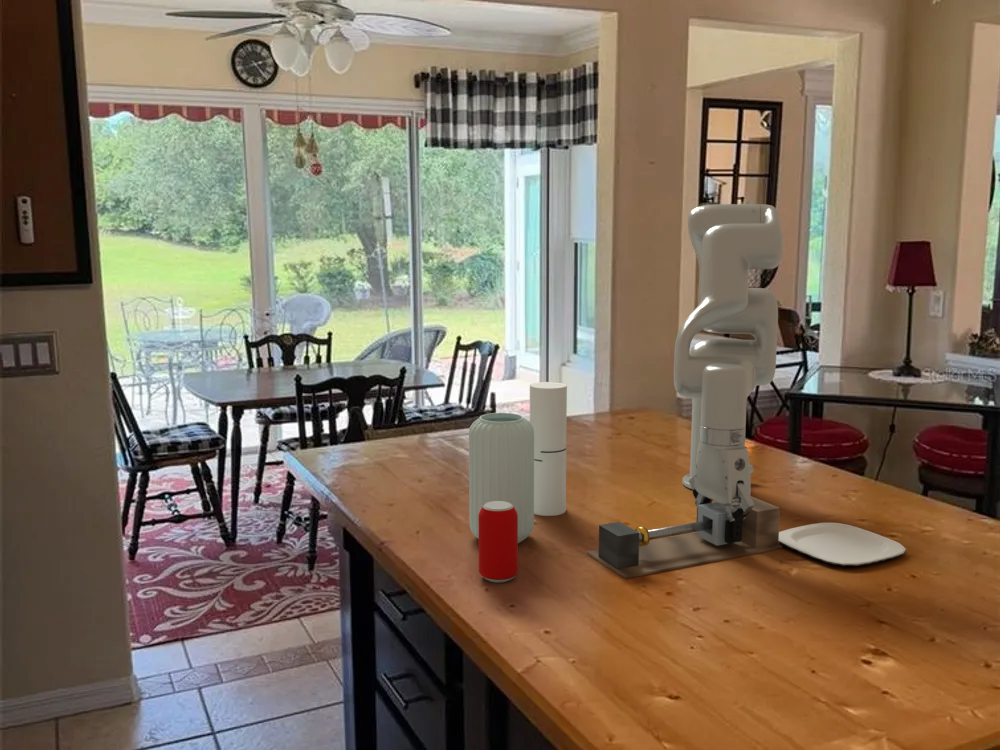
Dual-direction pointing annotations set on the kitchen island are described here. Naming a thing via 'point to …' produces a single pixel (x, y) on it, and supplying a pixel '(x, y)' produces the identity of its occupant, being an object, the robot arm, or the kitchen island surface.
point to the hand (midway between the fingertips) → (718, 534)
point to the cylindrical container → (549, 446)
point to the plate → (840, 544)
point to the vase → (502, 467)
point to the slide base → (684, 545)
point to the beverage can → (498, 541)
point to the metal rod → (671, 531)
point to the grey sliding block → (719, 518)
